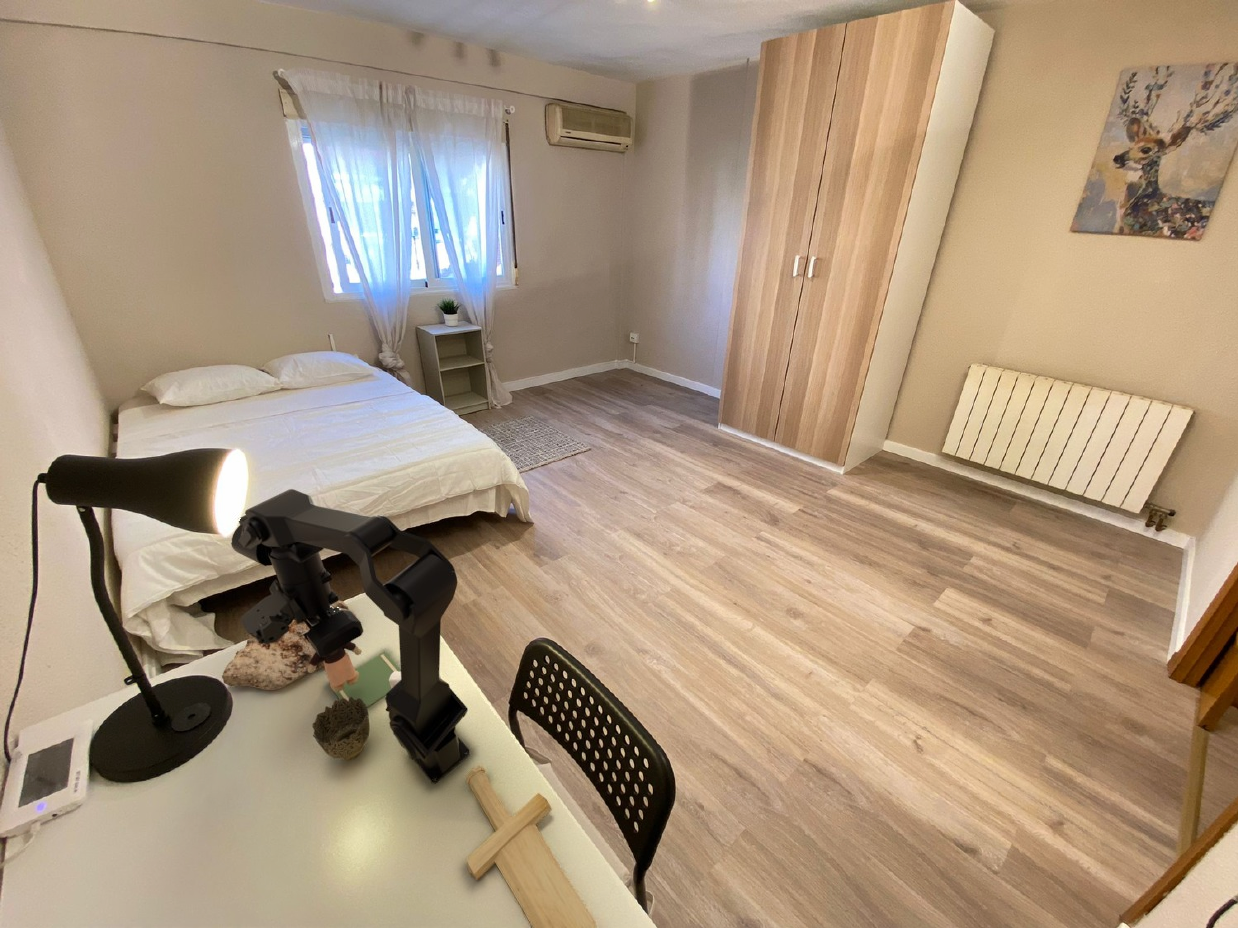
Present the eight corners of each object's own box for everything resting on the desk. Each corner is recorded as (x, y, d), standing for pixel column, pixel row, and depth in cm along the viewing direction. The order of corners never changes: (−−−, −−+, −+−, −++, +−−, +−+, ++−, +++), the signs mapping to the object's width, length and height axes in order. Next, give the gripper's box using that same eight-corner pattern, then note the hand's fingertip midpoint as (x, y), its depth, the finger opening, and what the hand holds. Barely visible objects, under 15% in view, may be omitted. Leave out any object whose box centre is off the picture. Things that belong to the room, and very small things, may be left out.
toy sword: (438, 809, 73) (558, 1046, 53) (432, 800, 71) (555, 1041, 52) (511, 750, 79) (642, 943, 60) (507, 740, 77) (642, 935, 58)
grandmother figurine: (360, 664, 89) (345, 609, 83) (369, 676, 87) (355, 620, 81) (313, 690, 84) (293, 634, 78) (322, 704, 82) (303, 647, 76)
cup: (326, 738, 81) (313, 706, 77) (376, 721, 84) (366, 689, 80) (324, 782, 75) (310, 750, 71) (378, 762, 78) (367, 730, 74)
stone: (214, 683, 89) (279, 722, 86) (202, 654, 84) (270, 694, 81) (321, 598, 107) (378, 628, 104) (316, 570, 103) (375, 601, 99)
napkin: (408, 679, 91) (408, 678, 91) (352, 717, 84) (352, 716, 84) (384, 652, 96) (384, 650, 96) (330, 685, 89) (329, 684, 89)
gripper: (215, 571, 73) (251, 646, 81) (262, 637, 63) (298, 716, 70) (298, 536, 81) (323, 608, 88) (352, 590, 70) (376, 666, 78)
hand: (328, 646), depth 81 cm, fingers closed on grandmother figurine, 3 cm apart
